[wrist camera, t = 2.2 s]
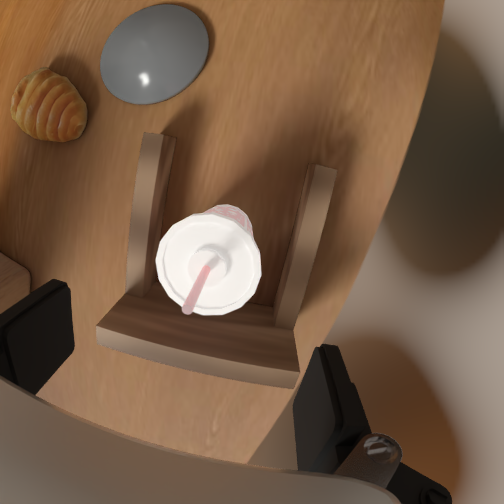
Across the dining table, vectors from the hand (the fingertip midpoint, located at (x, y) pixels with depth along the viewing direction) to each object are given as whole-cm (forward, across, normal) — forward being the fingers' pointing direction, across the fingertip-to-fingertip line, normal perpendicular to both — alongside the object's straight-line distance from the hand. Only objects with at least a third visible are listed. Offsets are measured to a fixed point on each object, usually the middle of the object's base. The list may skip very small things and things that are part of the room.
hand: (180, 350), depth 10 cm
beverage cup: (+16, 0, -1) cm, 17 cm away
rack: (+16, 0, -1) cm, 16 cm away
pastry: (+16, +20, -10) cm, 28 cm away
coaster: (+16, +10, -15) cm, 24 cm away
